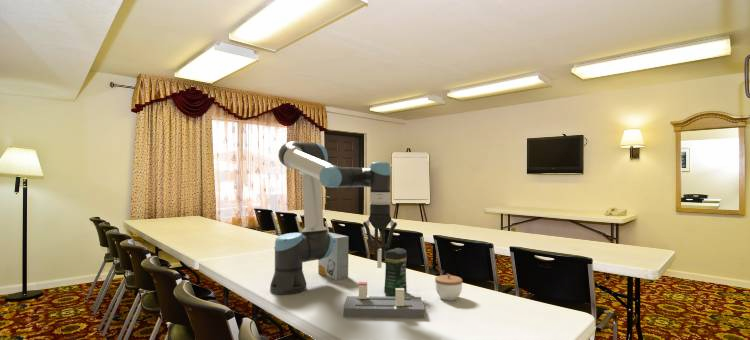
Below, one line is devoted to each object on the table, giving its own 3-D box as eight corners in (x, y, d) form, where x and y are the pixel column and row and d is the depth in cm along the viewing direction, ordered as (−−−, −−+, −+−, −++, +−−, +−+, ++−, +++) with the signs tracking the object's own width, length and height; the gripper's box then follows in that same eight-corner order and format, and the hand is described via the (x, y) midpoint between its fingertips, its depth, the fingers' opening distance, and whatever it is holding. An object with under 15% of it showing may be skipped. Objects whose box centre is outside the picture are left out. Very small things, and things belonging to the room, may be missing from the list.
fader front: (395, 305, 127) (395, 290, 127) (395, 303, 129) (395, 288, 129) (404, 306, 127) (404, 290, 127) (403, 303, 129) (403, 288, 129)
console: (342, 317, 125) (342, 308, 125) (346, 303, 139) (347, 295, 139) (424, 318, 125) (424, 309, 125) (420, 304, 138) (420, 296, 138)
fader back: (358, 298, 134) (358, 283, 134) (359, 296, 137) (359, 282, 137) (366, 298, 134) (366, 283, 134) (367, 296, 137) (367, 282, 137)
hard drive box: (317, 273, 182) (317, 233, 183) (330, 271, 188) (330, 232, 188) (336, 280, 171) (336, 237, 171) (349, 277, 176) (349, 235, 177)
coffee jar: (397, 298, 145) (398, 251, 146) (381, 294, 150) (381, 249, 150) (409, 292, 153) (409, 247, 154) (393, 288, 158) (393, 245, 158)
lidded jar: (429, 298, 146) (429, 274, 146) (444, 292, 154) (444, 269, 154) (453, 304, 138) (453, 279, 139) (467, 297, 146) (467, 274, 146)
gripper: (362, 204, 132) (361, 269, 132) (397, 204, 132) (397, 269, 132) (363, 202, 140) (362, 264, 140) (397, 203, 140) (396, 264, 139)
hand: (379, 266), depth 136 cm, fingers closed
